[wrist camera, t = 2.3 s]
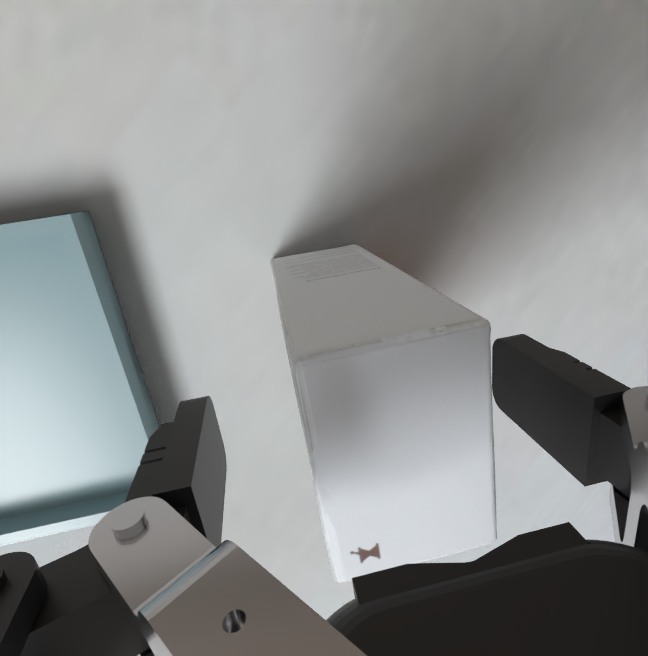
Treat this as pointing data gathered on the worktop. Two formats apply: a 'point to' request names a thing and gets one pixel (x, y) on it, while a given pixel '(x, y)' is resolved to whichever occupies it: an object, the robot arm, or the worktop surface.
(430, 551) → the skincare box
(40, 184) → the worktop surface
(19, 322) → the tray
